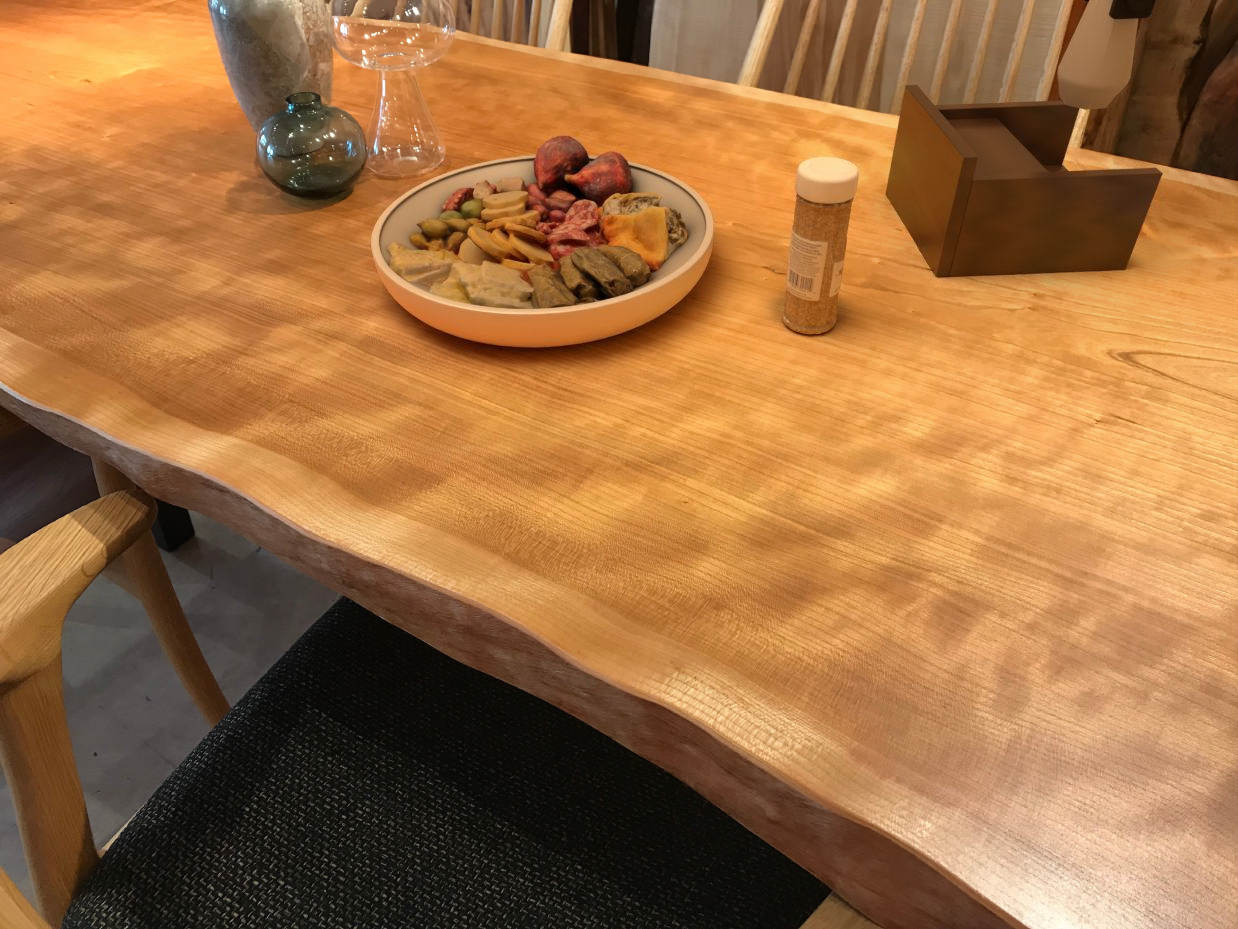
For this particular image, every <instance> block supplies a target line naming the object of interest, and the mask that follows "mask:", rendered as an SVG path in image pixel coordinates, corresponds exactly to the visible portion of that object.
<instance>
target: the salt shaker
mask: <svg viewBox="0 0 1238 929" xmlns="http://www.w3.org/2000/svg"><path fill="white" fill-rule="evenodd" d="M1112 2H1113V0H1089V2H1087V5H1086V7H1085V8H1084V11H1083V13H1082V16H1081V17H1080V20H1079V22H1078V24H1077V26H1076V28H1075V31H1074V32H1073V34H1072V37H1071V39H1070V40H1069V44H1068V46H1067V48H1066V50H1065V51H1064V54H1063V56H1062V58H1061V60H1060V63H1059V65H1058V67H1057V73H1056V75H1057V86H1058V97H1059V99H1060V101H1061V100H1062V101H1063V102H1064V104H1065V105H1068V106H1072V107H1077V108H1080V109H1082V110H1086V111H1088V110H1101V109H1106V108H1107V107H1108V106H1109V105H1110V104H1111V102H1112V101H1113V100H1114V99H1115V98H1116V96H1117V95H1118V94H1119V93H1120V92H1121V91H1122V90H1123V89H1124V88H1125V87H1126V86H1127V85H1128V84H1129V82H1130V80H1131V78H1132V77H1131V76H1132V71H1133V69H1132V68H1133V61H1134V54H1135V48H1136V41H1137V40H1136V39H1137V31H1138V24H1139V19H1113V18H1111V17H1110V16H1109V12H1110V8H1111V5H1112Z"/></svg>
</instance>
